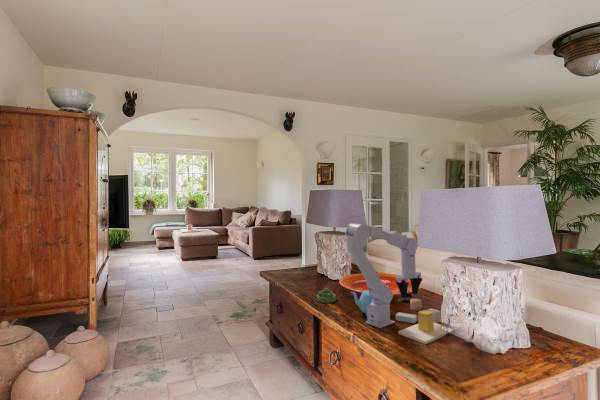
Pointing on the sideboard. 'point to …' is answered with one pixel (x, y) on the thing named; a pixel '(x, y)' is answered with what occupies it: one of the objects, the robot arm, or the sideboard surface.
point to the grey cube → (436, 315)
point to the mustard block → (425, 321)
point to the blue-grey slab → (406, 317)
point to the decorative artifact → (326, 296)
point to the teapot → (363, 300)
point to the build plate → (406, 298)
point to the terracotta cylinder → (415, 304)
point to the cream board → (423, 333)
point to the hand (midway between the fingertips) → (409, 295)
